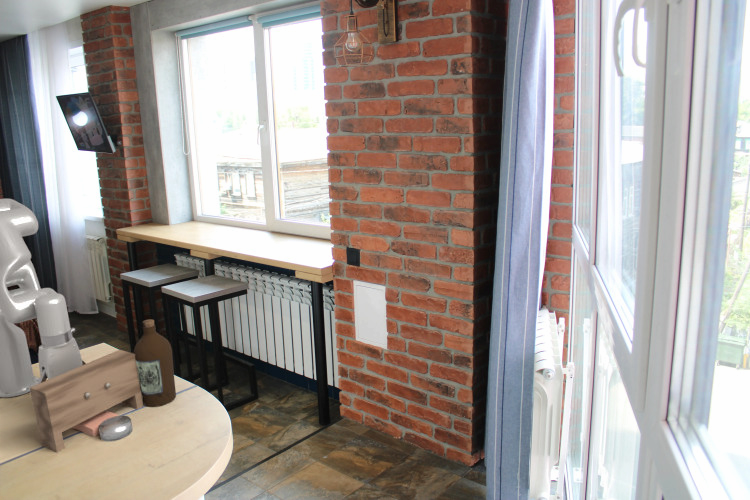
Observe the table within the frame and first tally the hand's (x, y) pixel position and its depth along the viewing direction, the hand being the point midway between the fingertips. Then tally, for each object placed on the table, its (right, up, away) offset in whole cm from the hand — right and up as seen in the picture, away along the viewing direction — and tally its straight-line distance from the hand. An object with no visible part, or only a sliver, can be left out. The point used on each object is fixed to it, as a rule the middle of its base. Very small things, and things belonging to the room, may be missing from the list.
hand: (67, 396), depth 164 cm
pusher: (+7, -6, -2) cm, 9 cm away
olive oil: (+23, -3, +8) cm, 25 cm away
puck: (+18, -8, -9) cm, 22 cm away
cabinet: (+10, -7, -4) cm, 13 cm away
